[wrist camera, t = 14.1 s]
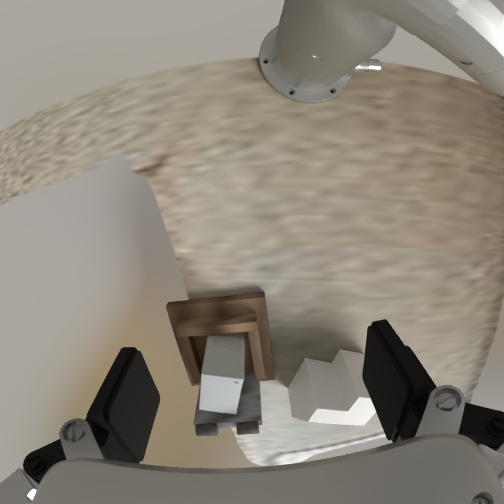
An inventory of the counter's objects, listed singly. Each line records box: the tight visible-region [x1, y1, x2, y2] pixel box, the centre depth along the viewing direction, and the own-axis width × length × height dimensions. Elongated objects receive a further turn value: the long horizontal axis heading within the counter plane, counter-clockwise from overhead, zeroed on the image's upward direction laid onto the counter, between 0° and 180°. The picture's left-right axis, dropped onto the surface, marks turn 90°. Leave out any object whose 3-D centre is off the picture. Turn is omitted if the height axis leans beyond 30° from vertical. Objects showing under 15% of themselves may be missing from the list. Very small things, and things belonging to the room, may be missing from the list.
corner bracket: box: [288, 349, 376, 425], centre depth 44 cm, size 11×11×12 cm
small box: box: [199, 332, 245, 414], centre depth 40 cm, size 8×6×10 cm
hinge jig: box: [166, 292, 275, 436], centre depth 40 cm, size 15×17×14 cm
